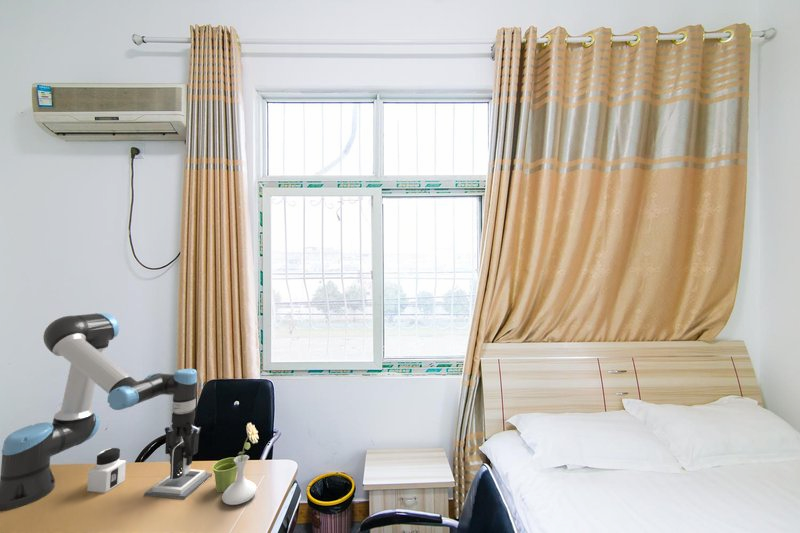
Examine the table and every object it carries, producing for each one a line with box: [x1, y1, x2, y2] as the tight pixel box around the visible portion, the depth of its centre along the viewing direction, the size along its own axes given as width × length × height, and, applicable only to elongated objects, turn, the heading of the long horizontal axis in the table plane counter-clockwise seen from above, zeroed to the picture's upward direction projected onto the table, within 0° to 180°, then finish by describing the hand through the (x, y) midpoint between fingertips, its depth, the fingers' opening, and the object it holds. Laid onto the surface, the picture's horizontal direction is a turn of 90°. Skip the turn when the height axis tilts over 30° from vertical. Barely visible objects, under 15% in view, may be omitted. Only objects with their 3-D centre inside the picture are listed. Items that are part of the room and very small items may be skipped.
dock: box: [144, 468, 213, 500], centre depth 122 cm, size 16×14×2 cm
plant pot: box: [211, 457, 237, 493], centre depth 121 cm, size 9×9×9 cm
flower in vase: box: [221, 422, 260, 506], centre depth 117 cm, size 13×11×25 cm
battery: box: [169, 440, 186, 479], centre depth 123 cm, size 7×4×11 cm, turn 1°
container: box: [86, 447, 127, 494], centre depth 121 cm, size 8×8×13 cm
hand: (180, 472), depth 122 cm, fingers closed on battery, 4 cm apart
